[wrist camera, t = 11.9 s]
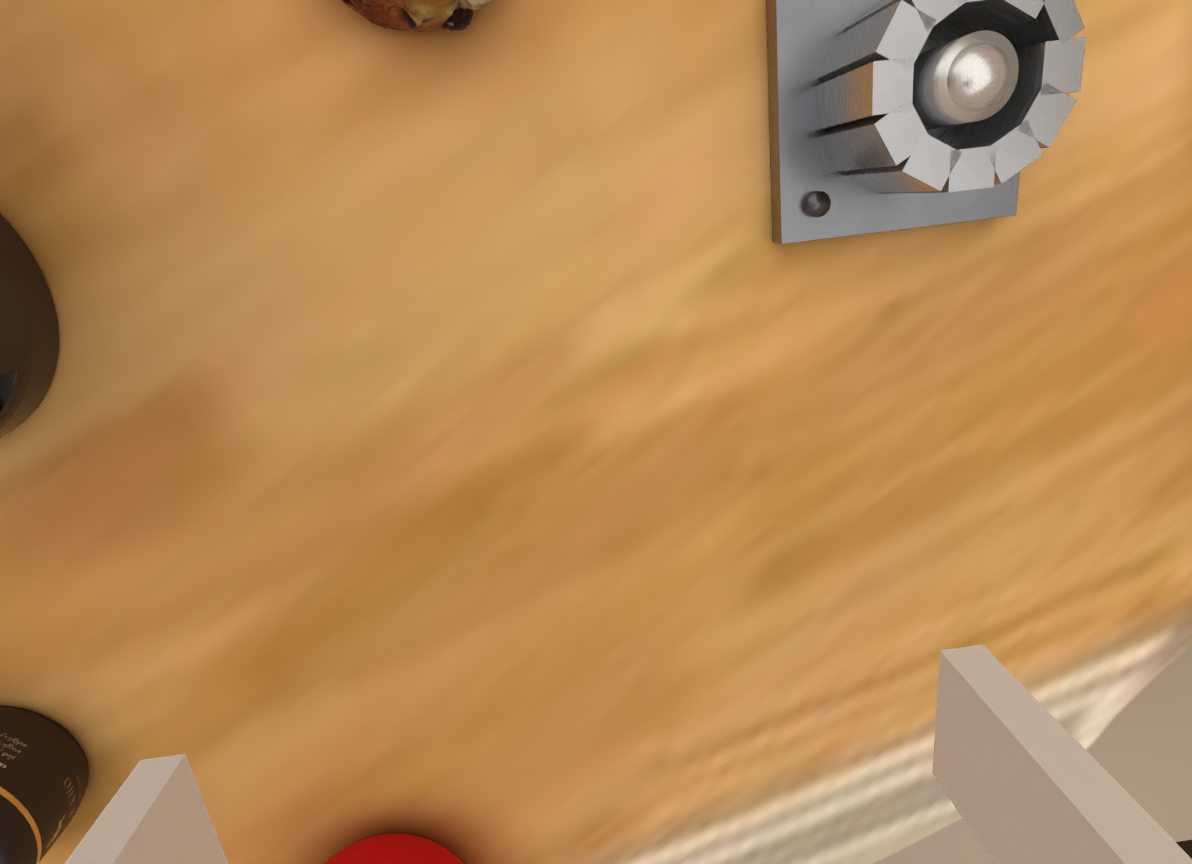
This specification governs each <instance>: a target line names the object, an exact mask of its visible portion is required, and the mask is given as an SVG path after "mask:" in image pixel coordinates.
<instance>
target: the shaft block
mask: <svg viewBox="0 0 1192 864" xmlns="http://www.w3.org/2000/svg"><path fill="white" fill-rule="evenodd" d="M879 1H881V0H766V19H767V56H768V93H769V130H770V168H771V205H772V242H775V243H780V244H784V243H793V242H801V241H809V240H817V239H826V238H834V237H842V236H850V235H858V234H867V233H875V232H883V231H891V230H900V229H908V228H916V227H924V226H932V225H941V224H949V223H957V222H965V221H974V220H982V219H990V218H998V217H1006V216H1015V215H1016V210H1017V198H1018V186H1019V174H1020V171H1019V172H1018V173H1016V174H1015V175H1013V176H1012V177H1011V178H1009V179H1008V180H1006V181H1005V182H1003V183H1002V184H994V187H990V188H981V189H973V190H965V191H956V192H947V193H896V194H881V193H875V192H873V191H871V190H869V189H867V188H865V187H863V186H861V185H859V184H857V183H855V182H853V181H851V180H849V179H847V178H845V177H843V174H844V172H845V171H838V172H837V170H836V168H835V166H834V165H833V163H832V161H831V159H830V158H829V156H828V154H827V152H826V150H825V149H824V147H823V145H822V143H821V142H820V140H819V138H818V137H819V136H820V135H822V134H823V133H824V132H826V131H827V130H828V129H821V130H816V86H817V85H820V84H822V83H824V81H822V80H820V79H818V77H819V74H820V72H821V70H822V68H823V66H824V64H825V62H826V60H827V58H828V56H829V54H830V51H831V49H832V47H833V45H834V43H835V41H836V39H837V37H838V36H839V35H841V34H842V33H844V31H843V29H844V28H846V27H847V26H848V25H850V24H851V23H852V22H853V21H855V20H856V19H857V18H859V17H860V16H861V15H862V14H864V13H865V12H866V11H868V10H869V9H870V8H872V7H873V6H874V5H875V4H877V3H878V2H879ZM1018 73H1019V64H1018V58H1017V54H1016V51H1015V49H1014V47H1013V45H1012V44H1011V43H1010V41H1009V40H1008V39H1007V38H1006V37H1004V36H1003V35H1001V34H999V33H997V32H994V31H988V30H983V31H977V32H973V33H971V34H968V35H965V36H963V37H960V38H958V39H955V40H953V41H950V42H948V43H945V44H943V45H940V46H939V45H938V44H936V43H934V42H932V41H931V40H929V39H926V41H925V43H924V45H923V47H922V49H921V51H920V53H919V55H918V57H917V59H916V61H915V63H914V71H913V99H912V104H913V106H914V108H915V110H916V112H917V114H918V116H919V118H920V119H921V121H922V123H923V125H924V127H925V129H926V131H927V133H928V135H930V136H932V137H934V138H935V139H938V138H940V137H941V135H942V133H943V131H944V129H945V128H946V127H948V126H953V125H958V124H964V123H969V122H975V121H980V120H983V119H986V118H988V117H990V116H992V115H994V114H995V113H997V112H998V111H999V110H1000V109H1001V108H1002V107H1003V106H1004V105H1005V104H1006V103H1007V101H1008V100H1009V98H1010V97H1011V95H1012V93H1013V91H1014V89H1015V86H1016V83H1017V79H1018Z"/></svg>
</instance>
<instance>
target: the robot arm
mask: <svg viewBox="0 0 1192 864" xmlns="http://www.w3.org/2000/svg"><path fill="white" fill-rule="evenodd" d="M57 355H58V328H57V320H56V314H55V310H54V306H53V302H52V298H51V295H50V292H49V289H48V287H47V284H46V282H45V279H44V277H43V275H42V273H41V271H40V269H39V267H38V265H37V263H36V261H35V260H34V258H33V256H32V254H31V253H30V251H29V250H28V248H27V247H26V245H25V244H24V242H23V241H22V240H21V238H20V237H19V236H18V234H17V233H16V232H15V231H14V229H13V228H12V227H11V226H10V225H9V224H8V222H7V221H6V220H5V219H4V218H3V217H2V216H1V215H0V437H1V436H3V435H5V434H7V433H8V432H10V431H12V430H13V429H15V428H16V427H17V426H19V425H20V424H21V423H22V422H24V421H25V420H26V419H27V418H28V417H29V416H30V415H31V414H32V412H33V411H34V410H35V409H36V408H37V406H38V405H39V404H40V402H41V401H42V399H43V397H44V396H45V394H46V392H47V390H48V388H49V386H50V383H51V380H52V377H53V375H54V371H55V367H56V361H57ZM932 773H933V774H934V776H935V777H936V779H937V780H938V782H939V783H940V785H941V786H942V788H943V789H944V791H945V792H946V794H947V795H948V797H949V798H950V800H951V801H952V803H953V804H954V806H955V807H956V809H957V810H958V812H959V813H960V815H961V816H962V818H963V819H964V821H965V822H966V824H967V825H968V827H969V828H970V830H971V831H972V833H973V834H974V836H975V837H976V839H977V840H978V842H979V843H980V845H981V846H982V847H983V849H984V851H985V852H986V854H987V855H988V857H989V858H990V860H991V861H992V863H993V864H1192V840H1187V841H1181V842H1175V841H1174V840H1173V839H1172V838H1171V837H1170V836H1169V835H1168V834H1167V833H1166V832H1165V831H1164V830H1163V829H1162V828H1161V827H1160V826H1159V825H1158V824H1157V823H1156V822H1155V821H1154V820H1153V819H1152V818H1151V817H1150V816H1149V814H1148V813H1147V812H1146V811H1145V810H1144V809H1143V808H1142V807H1141V806H1140V805H1139V804H1138V803H1137V802H1136V801H1135V800H1134V799H1133V798H1132V797H1131V796H1130V795H1129V794H1128V793H1127V792H1126V791H1125V790H1124V789H1123V788H1122V787H1121V786H1120V785H1119V784H1118V783H1117V782H1116V781H1115V780H1114V779H1113V778H1112V777H1111V776H1110V774H1109V773H1108V772H1106V770H1105V769H1104V768H1103V767H1102V766H1101V765H1100V764H1099V763H1098V762H1097V761H1096V760H1095V759H1094V758H1093V757H1092V756H1091V755H1090V754H1089V753H1088V752H1087V751H1086V750H1085V749H1084V748H1083V747H1082V746H1081V745H1080V744H1079V743H1078V742H1077V741H1076V740H1075V739H1074V738H1073V737H1072V735H1071V734H1070V733H1069V732H1068V731H1067V730H1066V729H1065V728H1064V727H1063V726H1062V725H1061V724H1060V723H1059V722H1058V721H1057V720H1056V719H1055V718H1054V717H1053V716H1052V715H1051V714H1050V713H1049V712H1048V711H1047V710H1046V709H1045V708H1044V707H1043V706H1042V705H1041V704H1040V703H1039V702H1038V701H1037V700H1036V699H1035V698H1034V697H1033V695H1032V694H1031V693H1030V692H1029V691H1028V690H1027V689H1026V688H1025V687H1024V686H1023V685H1022V684H1021V683H1020V682H1019V681H1018V680H1017V679H1016V678H1015V677H1014V676H1013V675H1012V674H1011V673H1010V672H1009V671H1008V670H1007V669H1006V668H1005V667H1004V666H1003V665H1002V664H1001V663H1000V662H999V661H998V660H997V659H996V658H995V656H994V655H993V654H992V653H991V652H990V651H989V650H988V649H987V648H986V647H985V646H984V645H976V646H969V647H962V648H955V649H947V650H940V660H939V676H938V692H937V708H936V724H935V740H934V756H933V772H932ZM64 864H228V861H227V859H226V856H225V854H224V851H223V848H222V846H221V843H220V841H219V838H218V836H217V833H216V831H215V828H214V825H213V823H212V820H211V818H210V815H209V813H208V810H207V808H206V805H205V802H204V800H203V797H202V795H201V792H200V790H199V787H198V785H197V782H196V779H195V777H194V774H193V772H192V769H191V767H190V764H189V762H188V759H187V756H186V754H180V755H173V756H166V757H158V758H151V759H144V760H140V761H139V762H138V764H137V765H136V766H135V768H134V769H133V770H132V772H131V773H130V775H129V776H128V777H127V779H126V780H125V781H124V783H123V784H122V786H121V787H120V788H119V790H118V791H117V792H116V794H115V795H114V796H113V798H112V799H111V801H110V802H109V803H108V805H107V806H106V807H105V809H104V810H103V811H102V813H101V814H100V816H99V817H98V818H97V820H96V821H95V822H94V824H93V825H92V826H91V828H90V829H89V831H88V832H87V833H86V835H85V836H84V837H83V839H82V840H81V842H80V843H79V844H78V846H77V847H76V848H75V850H74V851H73V852H72V854H71V855H70V857H69V858H68V859H67V861H66V862H65V863H64Z"/></svg>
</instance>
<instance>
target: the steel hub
mask: <svg viewBox="0 0 1192 864" xmlns="http://www.w3.org/2000/svg"><path fill="white" fill-rule="evenodd" d="M1084 28H1085V27H1084V25H1083V22H1082V20H1081V17H1080V15H1079V13H1078V10H1077V8H1076V5H1075V3H1074V0H881V1H879V2H878V3H877V4H875V5H874V6H873V7H872V8H870V9H869V10H868V11H866V12H865V13H864V14H862V15H861V16H860V17H859V18H857V19H856V20H855V21H853V22H852V23H851V24H850V25H848V26H847V27H846V28H844V29H843V31H844V33H842V34H841V35H839V36H838V37H837V39H836V41H835V43H834V45H833V47H832V49H831V51H830V54H829V56H828V58H827V60H826V62H825V64H824V66H823V68H822V70H821V72H820V74H819V77H818V79H820V80H822V81H824V83H822V84H820V85H817V86H816V130H821V129H828V130H827V131H826V132H824V133H823V134H822V135H820V136H819V137H818V138H819V140H820V142H821V143H822V145H823V147H824V149H825V150H826V152H827V154H828V156H829V158H830V159H831V161H832V163H833V165H834V166H835V168H836V170H837V172H838V171H845V172H844V174H843V177H845V178H847V179H849V180H851V181H853V182H855V183H857V184H859V185H861V186H863V187H865V188H867V189H869V190H871V191H873V192H875V193H881V194H896V193H947V192H956V191H965V190H973V189H981V188H990V187H994V184H1002V183H1003V182H1005V181H1006V180H1008V179H1009V178H1011V177H1012V176H1013V175H1015V174H1016V173H1018V172H1019V171H1020V170H1022V169H1023V168H1025V167H1026V166H1027V165H1029V164H1030V163H1032V162H1033V161H1034V160H1036V159H1037V158H1039V157H1040V156H1041V155H1043V153H1042V151H1041V149H1040V148H1048V147H1050V146H1051V144H1052V142H1053V140H1054V139H1055V137H1056V135H1057V134H1058V132H1059V130H1060V128H1061V127H1062V125H1063V123H1064V122H1065V120H1066V118H1067V116H1068V115H1069V113H1070V111H1071V110H1072V108H1073V106H1074V104H1075V103H1076V101H1077V100H1076V99H1074V98H1072V97H1071V96H1069V95H1067V94H1068V93H1072V92H1077V91H1080V87H1081V78H1082V69H1083V60H1084V50H1085V41H1086V37H1081V38H1072V39H1070V38H1071V37H1073V36H1074V35H1075V34H1077V33H1078V32H1079V31H1081V30H1082V29H1084ZM983 30H988V31H994V32H997V33H999V34H1001V35H1003V36H1004V37H1006V38H1007V39H1008V40H1009V41H1010V43H1011V44H1012V45H1013V47H1014V49H1015V51H1016V54H1017V58H1018V64H1019V73H1018V79H1017V83H1016V86H1015V89H1014V91H1013V93H1012V95H1011V97H1010V98H1009V100H1008V101H1007V103H1006V104H1005V105H1004V106H1003V107H1002V108H1001V109H1000V110H999V111H998V112H997V113H995V114H994V115H992V116H990V117H988V118H986V119H983V120H980V121H975V122H969V123H964V124H958V125H953V126H948V127H946V128H945V129H944V131H943V133H942V135H941V137H940V138H938V139H935V138H934V137H932V136H930V135H928V133H927V131H926V129H925V127H924V125H923V123H922V121H921V119H920V118H919V116H918V114H917V112H916V110H915V108H914V106H913V104H912V99H913V71H914V63H915V61H916V59H917V57H918V55H919V53H920V51H921V49H922V47H923V45H924V43H925V41H926V39H929V40H931V41H932V42H934V43H936V44H938V45H939V46H940V45H943V44H945V43H948V42H950V41H953V40H955V39H958V38H960V37H963V36H965V35H968V34H971V33H973V32H977V31H983Z"/></svg>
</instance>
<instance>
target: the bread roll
mask: <svg viewBox="0 0 1192 864" xmlns="http://www.w3.org/2000/svg"><path fill="white" fill-rule="evenodd" d="M342 1H343V2H344V3H345V4H346V5H348V6H349V7H351V8H352V9H354V10H355V11H357V12H359V13H361V14H362V15H363V16H364V17H366V18H367V19H368V20H369V21H371V22H372V23H374V24H377V25H379V26H382V27H384V28H391V29H396V30H415V31H420V32H428V31H435V30H438V29H440V28H441V29H445V28H447V29H450V30H464V29H465V28H466V27H467V25H470V22H471V19H472V15H473V10H479V9H480V8H481V7H482V5H484V6H485V5H487V4H488V3H490V2H491V1H492V0H342Z"/></svg>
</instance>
